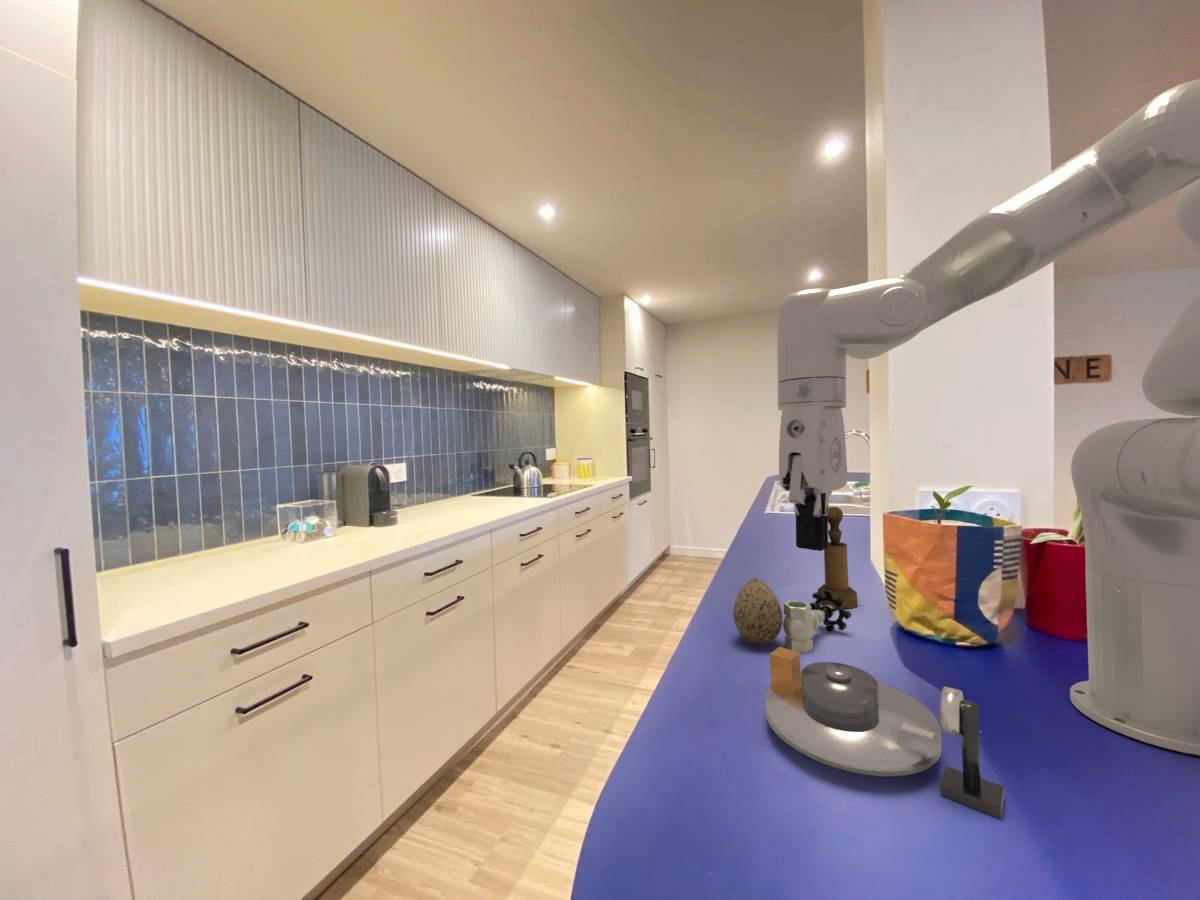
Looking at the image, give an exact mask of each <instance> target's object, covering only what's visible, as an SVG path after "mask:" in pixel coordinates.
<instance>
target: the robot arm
mask: <svg viewBox="0 0 1200 900" xmlns="http://www.w3.org/2000/svg"><path fill="white" fill-rule="evenodd" d="M1178 191H1180V193H1179V194H1178V196H1177V199H1176V200H1175V205H1174V211H1173V212H1174V221H1175V223H1176V226H1177V228H1178V229H1179V231H1180V233H1181V234H1182V235H1183V237H1184V238H1185V239H1186V240H1187V241H1188V242H1189V244H1190V245H1191V246H1192V248H1193V250H1194V252H1196V254H1197V256H1198V258H1199V260H1200V78H1199V79H1193V80H1191V81H1187V82H1183V83H1181V84H1178V85H1175V86H1174V87H1172V88H1169V89H1167V90H1165V91H1164V92H1162V93H1159V95H1157V96H1155V97H1154V98H1152V99H1151V100H1150V101H1148V102H1147V103H1146V104H1144V105H1143V106H1142V107H1141V108H1140V109H1139V110H1137V111H1136V112H1135V113H1133V114H1132V115H1130V116H1129V117H1128V118H1127V119H1126V120H1124V121H1123V122H1122V123H1120V124H1119V125H1118V126H1117V127H1115V128H1114V129H1113V130H1112V131H1110V132H1109V133H1108V134H1107V135H1105V136H1104V137H1103V138H1101V139H1099V140H1098V141H1096V142H1095V143H1093V144H1092V145H1091V146H1089V147H1087V148H1086V149H1084V150H1083V151H1081V152H1080V153H1078V154H1076V155H1074V156H1073V157H1072V158H1070V159H1068V160H1067V161H1065V162H1063V163H1061V164H1060V165H1058V166H1057V167H1055V168H1054V169H1052V170H1051V171H1049V172H1048V173H1046V174H1044V175H1043V176H1042V177H1040V178H1038V179H1037V180H1035V181H1033V182H1031V183H1030V184H1028V185H1027V186H1025V187H1024V188H1022V189H1021V190H1019V191H1017V192H1015V193H1013V194H1012V195H1010V196H1007V198H1005V199H1003V200H1002V201H1000V202H998V203H997V204H995V205H993V206H991V207H990V208H989V209H987V210H985V211H983V212H982V213H980V215H978V216H977V217H975V218H974V219H972V221H970V222H969V223H967V224H966V225H965V226H963V227H962V228H961V229H960V230H958V232H956V233H954V235H952V236H951V237H950V238H948V240H946V241H945V242H944V243H943V244H942V245H941V246H940V247H938V248H937V249H936V250H935V251H933V252H932V253H931V254H930V255H928V256H927V257H925V258H924V259H923V260H922V261H920V262H919V263H917V264H915V266H913V267H911V268H910V269H908V270H907V271H906V272H904V273H903V274H901V275H900V276H897V277H884V278H879V279H874V280H871V281H866V282H863V283H859V284H853V285H848V286H844V287H839V288H827V287H826V288H825V287H824V288H823V287H817V288H815V287H813V288H807V289H802V290H797V291H796V292H793V293H790V294H788V295H786V296H784V297H783V298H782V299H781V300H780V302H779V304H778V305H777V306H778V307H777V312H776V313H777V315H776V316H777V317H776V320H777V321H776V324H777V326H776V330H777V331H776V332H777V333H776V335H777V338H776V339H777V340H776V341H777V351H776V352H777V353H776V355H777V357H776V358H777V410H778V411H781V417H780V427H779V428H780V429H779V440H778V441H779V442H778V443H779V444H778V476H779V477H778V478H779V485H780V486H781V488H782V489H783V490H784V491H787V492H788V502H789V503H791V504H793V508H794V515H795V545H796V548H798V549H804V550H810V551H811V550H812V551H816V552H817V551H819V552H822V551H824V549H826V548H827V547H828V542H829V534H828V531H829V522H828V516H825V515H828V510H829V507H830V503H829V502H830V496H831V495H832V493H833V492H834V491H838V490H840V489H844V488H845V486H846V485H847V483H848V466H847V465H848V464H847V461H848V460H847V445H846V433H845V432H846V431H845V422H844V416H843V412H842V411H843V410H842V409H844V408H846V407H847V366H846V365H847V356H849V357H850V358H854V359H858V360H868V359H870V360H871V359H874V358H877V357H879V356H882V355H884V354H886V353H887V352H890V351H891V350H893V349H895V348H897V347H899V346H902V345H903V344H905V343H907V342H909V341H910V340H912V339H913V338H914V337H916V336H917V335H918V334H920V333H921V332H922V331H924V330H926V329H928V328H929V327H931V326H933V325H935V324H936V323H939V322H941V321H942V320H943V319H945V318H948V317H949V316H951V315H952V314H954V313H957V312H958V311H960V310H962V309H964V308H966V307H969V306H971V305H973V304H975V303H977V302H979V301H982V300H984V299H986V298H988V297H991V296H993V295H995V294H997V293H999V292H1001V291H1003V290H1005V289H1007V288H1009V287H1011V286H1013V285H1014V284H1017V283H1018V282H1019V281H1021V280H1024V279H1025V278H1027V277H1029V276H1031V275H1033V274H1035V273H1036V272H1038V271H1040V270H1041V269H1043V268H1045V267H1046V266H1048V265H1050V264H1051V263H1053V262H1056V261H1057V260H1058V259H1060V258H1062V257H1063V256H1065V255H1067V254H1069V253H1071V252H1073V251H1074V250H1076V249H1078V248H1079V247H1081V246H1082V245H1083V246H1084V245H1085V244H1086V243H1088V242H1090V241H1092V240H1093V239H1096V238H1097V237H1098V236H1101V235H1102V234H1105V233H1106V232H1107V231H1109V230H1111V229H1113V228H1114V227H1117V226H1118V225H1120V224H1121V223H1124V222H1125V221H1126V220H1128V219H1130V218H1132V217H1133V216H1136V215H1137V214H1139V213H1141V212H1143V211H1145V210H1146V209H1148V208H1149V207H1151V206H1152V205H1154V204H1156V203H1158V202H1160V201H1161V200H1163V199H1165V198H1167V197H1169V196H1170V195H1172V194H1174V193H1176V192H1178ZM1141 388H1142V393H1143V396H1144V397H1145V399H1146V400H1147V401H1148V402H1149V403H1150V404H1152V405H1153V406H1154V407H1156V408H1157V409H1159V410H1161V411H1163V412H1167V413H1171V414H1174V415H1175V414H1176V415H1180V416H1188V417H1169V418H1166V417H1165V418H1162V417H1161V418H1147V419H1146V418H1145V419H1144V418H1143V419H1142V418H1141V419H1134V420H1133V419H1131V420H1126V421H1120V422H1115V423H1113V424H1112V423H1111V424H1108V425H1105V426H1102V427H1100V428H1098V429H1096V430H1095V431H1093V432H1091V433H1089V435H1086V437H1084V438H1083V440H1081V441H1080V443H1079V444H1078V446H1077V447H1076V449H1075V451H1074V453H1073V455H1072V458H1071V465H1070V472H1071V481H1072V484H1073V488H1074V492H1075V497H1076V499H1077V502H1078V506H1079V510H1080V515H1081V521H1082V526H1083V534H1084V535H1083V537H1084V550H1085V551H1084V552H1085V553H1084V554H1085V558H1084V559H1085V565H1084V566H1085V569H1084V570H1085V599H1086V626H1087V659H1088V680H1083V681H1080V682H1076V683H1074V684H1073V685H1071V687H1070V689H1069V691H1070V692H1069V699H1070V700H1071V701H1070V702H1071V704H1072V705H1074V707H1075V708H1076V709H1077V710H1078V711H1080V713H1082V714H1083V715H1084V716H1086V717H1088V718H1089V719H1091V720H1092V721H1095V722H1096V723H1098V724H1100V725H1101V726H1104V727H1106V728H1108V729H1110V730H1112V731H1114V732H1117V733H1119V734H1122V735H1124V736H1126V737H1128V738H1131V739H1135V740H1137V741H1140V742H1143V743H1146V744H1150V745H1153V746H1155V747H1156V746H1157V747H1159V748H1162V749H1167V750H1171V751H1176V752H1179V753H1183V754H1187V755H1188V754H1189V755H1195V756H1199V757H1200V281H1199V283H1198V285H1197V286H1196V289H1195V290H1194V292H1193V294H1192V296H1191V298H1190V300H1189V301H1188V302H1187V304H1186V306H1185V307H1184V309H1183V311H1182V312H1181V313H1180V315H1179V317H1178V318H1177V320H1176V321H1175V323H1174V324H1173V325H1172V327H1171V329H1170V330H1169V332H1168V333H1167V334H1166V336H1165V337H1164V339H1163V340H1162V342H1161V344H1160V345H1159V347H1158V349H1157V350H1156V352H1155V353H1154V354H1153V356H1152V357H1151V359H1150V360H1149V362H1148V364H1147V365H1146V368H1145V371H1144V373H1143V375H1142V379H1141ZM1189 416H1190V417H1189Z"/></svg>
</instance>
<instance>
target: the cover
mask: <svg viewBox="0 0 1200 900" xmlns="http://www.w3.org/2000/svg"><path fill="white" fill-rule="evenodd" d="M801 672H802V692H803V708H804V710H805V712H806V713H807V715H808V716H809V717H811V718H812V719H813V720H815V721H816V722H818V723H820V724H822V725H824V726H827V727H829V728H833V729H836V730H841V731H847V732H864V731H869V730H871V729H874V728H875V727H876V726H877V725H878V724H879V698H878V683H877V681H878V680H877V679H876V678H875V677H874V676H873V675H872V674H870V673H868V672H867V671H866V670H863V669H861V668H858V667H856V666H854V665H850V664H846V663H842V662H841V663H839V662H834V661H830V662H829V661H825V662H824V661H822V662H821V661H820V662H819V661H818V662H814V663H810V664H807V665H805V666H804V667H803V669H802V670H801Z"/></svg>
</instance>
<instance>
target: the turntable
mask: <svg viewBox="0 0 1200 900" xmlns="http://www.w3.org/2000/svg"><path fill="white" fill-rule="evenodd" d="M769 659H770V660H769V661H770V685H769V686H768V687H767V689H766V691H765V695H764V696H765V697H764V700H765V701H764V702H765V716H766V719H767V720H766V721H767V722H768V724H769V726H770V727H771V729H772V730H773V732H774V733H775V734H776V735H777V736H778V737H779V738H780V739H781V740H782V741H783V742H784V743H786V744H787V745H789V746H790V747H791V748H793V749H794V750H796V751H797V752H799V753H801V754H802V755H804V756H806V757H808V758H811V759H813V760H814V761H817V762H819V763H822V764H824V765H827V766H829V767H832V768H836V769H839V770H843V771H847V772H850V773H854V774H855V773H856V774H861V775H866V776H867V775H868V776H875V777H876V776H877V777H878V776H879V777H898V776H899V777H901V776H908V775H913V774H918V773H920V772H923V771H925V770H927V769H929V768H931V767H932V766H934V765H935V764H936V763H937V762H938V760H939V758H940V757H941V754H942V729H941V725H940V722H939V721H938V719H937V718H936V717H935V715H934V714H933V713H932V711H930V710H929V708H927V707H926V706H925V705H924V704H923V703H921V702H920V701H919V700H917V699H916V698H915V697H913V696H912V695H909V694H908V693H906V692H904V691H902V690H900V689H898V688H895V687H893V686H891V685H889V684H886V683H883V682H880V681H878V680H876V681H877V683H878V698H879V724H878V725H877V726H876V727H875V728H874V729H871V730H869V731H864V732H847V731H841V730H836V729H833V728H829V727H827V726H824V725H822V724H820V723H818V722H816V721H815V720H813V719H812V718H811V717H809V716H808V715H807V713H806V712H805V710H804V708H803V692H802V670H801V652H796V651H793V650H790V649H789V648H785V647H780V646H778V647H777V648H776V649H775V650H773V651H772V652H770V654H769Z"/></svg>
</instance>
